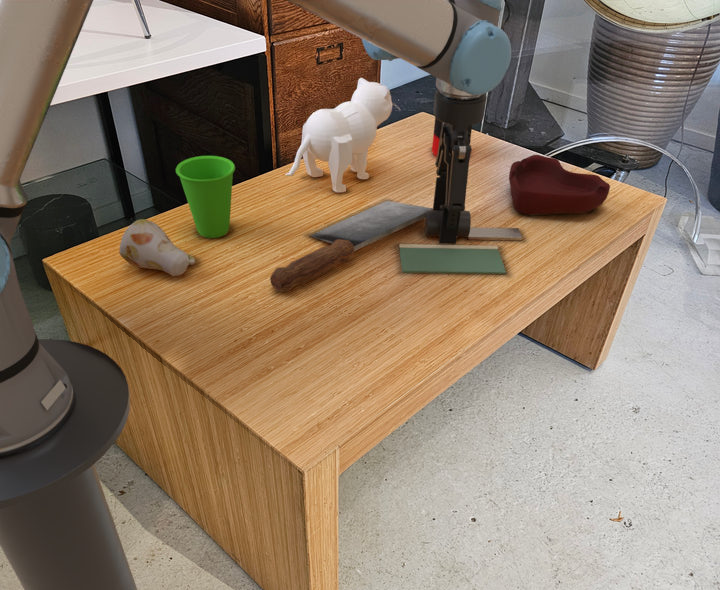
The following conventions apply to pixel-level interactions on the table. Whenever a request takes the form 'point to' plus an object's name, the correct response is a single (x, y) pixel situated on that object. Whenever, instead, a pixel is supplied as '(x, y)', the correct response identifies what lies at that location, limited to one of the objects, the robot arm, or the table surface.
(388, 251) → the table surface
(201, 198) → the cup
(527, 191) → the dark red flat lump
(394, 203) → the meat cleaver
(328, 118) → the cat figurine
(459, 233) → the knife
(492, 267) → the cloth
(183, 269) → the pale spotted pear
